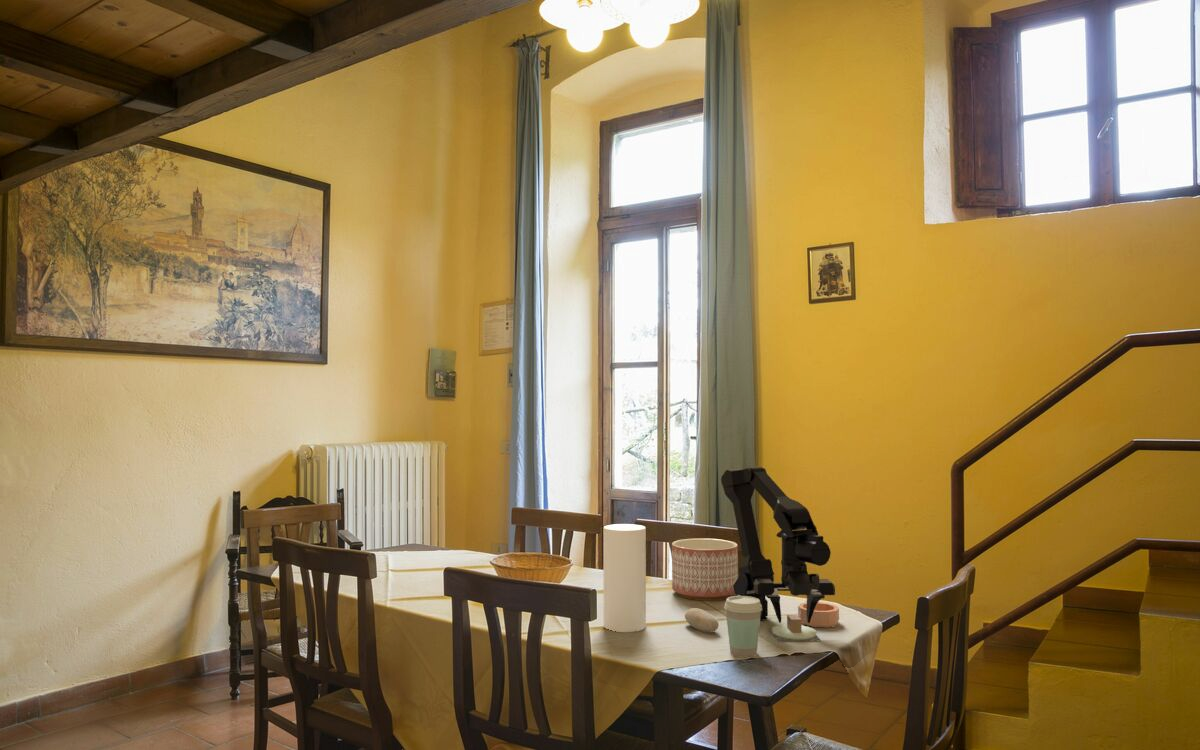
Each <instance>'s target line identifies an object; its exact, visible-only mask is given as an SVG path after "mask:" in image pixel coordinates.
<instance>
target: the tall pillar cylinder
mask: <svg viewBox="0 0 1200 750" xmlns="http://www.w3.org/2000/svg"><path fill="white" fill-rule="evenodd" d="M646 529H647V528H646V526H644V525H640V524H634V523H631V524H630V523H615V524H608V525H604V527H603V628H604V627H605V628H606V629H605V628H604V629H605V630H607V629H609V630H608V631H610V630H612V631H611V632H615V631H616V632H617V633H634V632H635V631H636V632H639V631H643V630H645V629H646V627H647V619H646V618H647V613H646V612H647V604H646V603H647V601H646V599H647V594H646V593H647V591H646V589H647V586H646V585H647V581H646V580H647V579H646V577H647V570H646V569H647V568H646V567H647V565H646V564H647V563H646V562H647V561H646V560H647V558H646V554H647V551H646V550H647V549H646V548H647V547H646V546H647V545H646V543H647V542H646V541H647V539H646V538H647V537H646V535H647V533H646V531H647V530H646Z"/></svg>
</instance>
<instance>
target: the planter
mask: <svg viewBox="0 0 1200 750" xmlns="http://www.w3.org/2000/svg"><path fill="white" fill-rule="evenodd" d="M738 547H739V546H738V544H737V543H736V542H735V541H731V540H725V539H718V538H703V537H702V538H701V537H700V538H699V537H698V538H687V539H686V538H685V539H683V538H682V539H678V540H675V541H673V542H672V543H671V558H672V559H671V574H672V575H671V579H672V580H671V581H672V582H671V589H672V590H673V592H675V593H677V594H678V595H679V596H680V597H682V598H686V599H690V600H695V601H696V600H697V601H721V600H725V599H727V598H729V597H732V596H733V595H735V593H734V588H733V585H734V583H735V582H736V580H737V579H738V578H739V573H738V572H739V568H738V567H739V566H738V563H739V562H738V551H739V550H738V549H739V548H738Z"/></svg>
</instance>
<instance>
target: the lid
mask: <svg viewBox="0 0 1200 750" xmlns="http://www.w3.org/2000/svg"><path fill="white" fill-rule="evenodd" d="M772 628H773V629H772V632H771V634H772V635H773V634H774V635H776V636H778V637H781V638H785V639H792V640H806V639H811V638H814V637H816V635H817V630H816V629H815V628H814V627H809V626H805V625H803V624H801V619H800V618H799V616H798V614H787V615H786V624H778V625H776V626H773V627H772ZM774 635H773V636H774Z"/></svg>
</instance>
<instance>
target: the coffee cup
mask: <svg viewBox="0 0 1200 750" xmlns="http://www.w3.org/2000/svg"><path fill="white" fill-rule="evenodd" d="M723 609H725V616H726V625H727V634H728V642H729V643H728V644H729V651H730V653H731V655H732V656H736V657H739V658H750V657H754V656H756V655H757V654H758V653H757V652H758V645H759V644H758V642H759V635H760V634H759V633H760V625H761V620H760V616H761V611H762V605H761V603H760V600H759V599H757V598H754V597H749V596H740V595H734V596H733V595H731V596H730V597H729V598H726V601H725V603H724V607H723Z"/></svg>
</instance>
